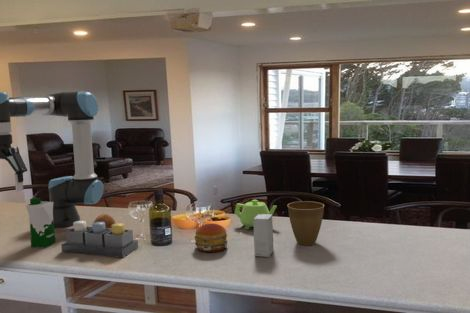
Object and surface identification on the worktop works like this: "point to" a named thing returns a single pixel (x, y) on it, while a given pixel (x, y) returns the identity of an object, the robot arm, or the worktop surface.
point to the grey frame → (99, 243)
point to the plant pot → (306, 220)
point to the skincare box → (263, 235)
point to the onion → (105, 220)
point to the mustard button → (118, 229)
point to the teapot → (252, 212)
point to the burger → (211, 238)
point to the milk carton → (41, 223)
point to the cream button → (79, 226)
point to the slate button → (98, 227)
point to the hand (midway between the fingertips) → (5, 190)
